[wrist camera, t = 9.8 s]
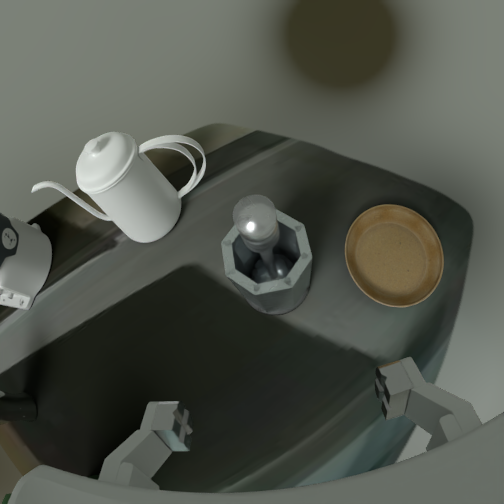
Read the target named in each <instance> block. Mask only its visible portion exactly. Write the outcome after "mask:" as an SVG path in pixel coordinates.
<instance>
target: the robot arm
mask: <svg viewBox="0 0 504 504" xmlns="http://www.w3.org/2000/svg"><path fill="white" fill-rule="evenodd" d="M51 259H52V248H51V243H50V240H49V238H48V237H47V236H46V235H45V234H44V233H42V232H41V229H40V226H39V225H38V224H36V223H34V224H32V225H29V224H27V223H25V222H23V221H21V220H19V219H17V218H15V217H10V218H7V217H6V216H4V215H3V214H2V213H0V305H5V306H10V307H15V308H20V309H25V310H29V309H30V307H31V305H32V303H33V300H34V297H35V296H36V294H37V293H38V292H39V290H40V289H41V288H42V286H43V284H44V282H45V280H46V278H47V276H48V273H49V269H50V265H51ZM376 376H377V379H376V380H375V391H376V395H377V398H378V400H379V401H380V402H382V408H381V409H382V411H383V414H384V416H385V419H386V420H388V419H392V418H395V417H398V416H401V415H404V414H405V416H406V417H407V418H409V419H410V420H412V421H413V422H414V423H416V424H417V425H418V426H420V427H421V428H423V429H424V430H425V431H427V432H428V433H430V434H431V435H432V437H431V439H430V441H429V443H428V445H427V447H426V450H427V452H424V453H422V454H420V455H417V456H414V457H412V458H409V459H406V460H404V461H401V462H398V463H395V464H392V465H389V466H386V467H383V468H379V469H376V470H373V471H369V472H366V473H362V474H358V475H355V476H351V477H347V478H342V479H338V480H333V481H329V482H324V483H318V484H313V485H307V486H301V487H294V488H286V489H278V490H268V491H256V492H238V493H193V492H176V491H164V490H159V486H158V485H157V484H156V483H155V482H153V481H152V480H151V478H152V477H153V475H154V474H155V473H156V472H157V470H158V469H159V468H160V467H161V465H162V464H163V463H164V462H165V460H166V459H167V458H168V457H169V455H170V454H171V453H172V451H189V449H190V443H191V438H190V436H189V434H190V433H191V432H192V431H193V419H192V416H191V414H190V412H189V411H187V410H185V405H184V403H183V402H182V401H172V402H149V403H148V405H147V408H146V411H145V414H144V417H143V421H142V424H141V427H140V430H136V431H135V432H134V433H133V434H132V435H131V436H130V437H129V438H128V439H127V440H125V441H124V442H123V443H122V444H121V445H120V446H119V447H118V448H117V449H115V450H114V451H113V452H112V453H111V454H110V455H109V456H108V457H106V458H105V460H104V463H103V466H102V469H101V473H100V476H99V479H98V480H96V479H91V478H87V477H83V476H80V475H76V474H72V473H69V472H65V471H62V470H59V469H56V468H53V467H50V466H46V465H40V466H38V467H36V468H35V469H33V470H32V471H30V472H29V473H27V474H26V475H24V476H23V477H22V478H21V479H20V480H19V482H18V483H17V485H16V486H15V488H14V490H13V492H12V494H11V497H10V499H9V501H8V504H504V412H503V413H501V414H499V415H498V416H496V417H494V418H493V419H491V420H490V421H488V422H486V423H484V424H482V423H481V421H480V419H479V417H478V416H477V414H476V412H475V410H474V408H473V406H472V405H471V403H469V402H467V401H465V400H463V399H461V398H459V397H457V396H455V395H453V394H451V393H449V392H447V391H445V390H443V389H441V388H439V387H437V386H435V385H433V384H431V383H426V382H425V381H424V379H423V377H422V375H421V373H420V372H419V370H418V368H417V366H416V364H415V363H414V361H413V359H412V358H411V357H408V358H405V359H402V360H399V361H395V362H392V363H389V364H386V365H383V366H379V367H377V368H376Z"/></svg>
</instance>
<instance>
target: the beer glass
mask: <svg viewBox="0 0 504 504" xmlns="http://www.w3.org/2000/svg"><path fill="white" fill-rule="evenodd" d="M36 417H37V407H36V404H35V401H34V399H33V397H32V396H31V395H30V394H29V393H27V392H22V393H17V394H12V393H7V392H3V391H0V425H3V424H6V423H10V422H13V421H27V422H33V421H34V420H35V419H36Z"/></svg>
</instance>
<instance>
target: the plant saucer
mask: <svg viewBox="0 0 504 504" xmlns="http://www.w3.org/2000/svg"><path fill="white" fill-rule="evenodd" d="M345 258H346V263H347V267H348V270H349V272H350V275H351V277H352V278H353V280H354V282H355V283H356V285H357V286H358V287H359V288H360V289H361V290H362V291H363V292H364V293H365V294H366V295H367V296H369V297H370V298H371V299H373V300H374V301H376V302H378V303H381V304H383V305H386V306H391V307H409V306H413V305H415V304H418V303H420V302H422V301H423V300H425V299H426V298H427V297H429V296H430V295H431V294H432V293H433V291H434V290H435V289H436V287H437V285H438V284H439V281H440V279H441V276H442V273H443V266H444V257H443V250H442V246H441V242H440V240H439V237H438V235H437V233H436V232H435V230H434V229H433V227H432V226H431V225H430V224H429V222H428V221H427V220H426V219H425V218H423V217H422V216H421V215H420V214H418V213H416V212H415V211H413V210H411V209H409V208H406V207H404V206H400V205H392V204H384V205H378V206H375V207H372V208H370V209H368V210H366V211H364V212H363V213H362V214H360V215H359V216H358V217H357V218H356V219H355V221H354V222H353V224H352V225H351V227H350V229H349V231H348V234H347V237H346V241H345Z"/></svg>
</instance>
